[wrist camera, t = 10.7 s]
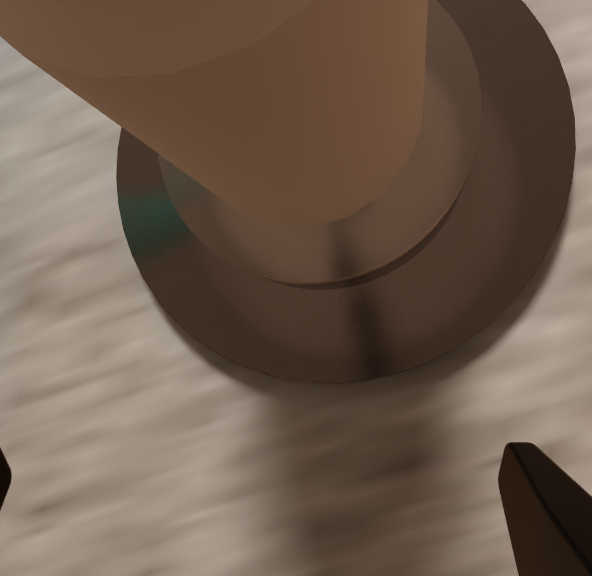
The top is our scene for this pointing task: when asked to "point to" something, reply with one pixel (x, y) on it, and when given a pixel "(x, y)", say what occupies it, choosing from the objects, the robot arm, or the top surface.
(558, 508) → the robot arm
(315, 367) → the duct stub
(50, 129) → the top surface
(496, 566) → the top surface
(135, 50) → the can
